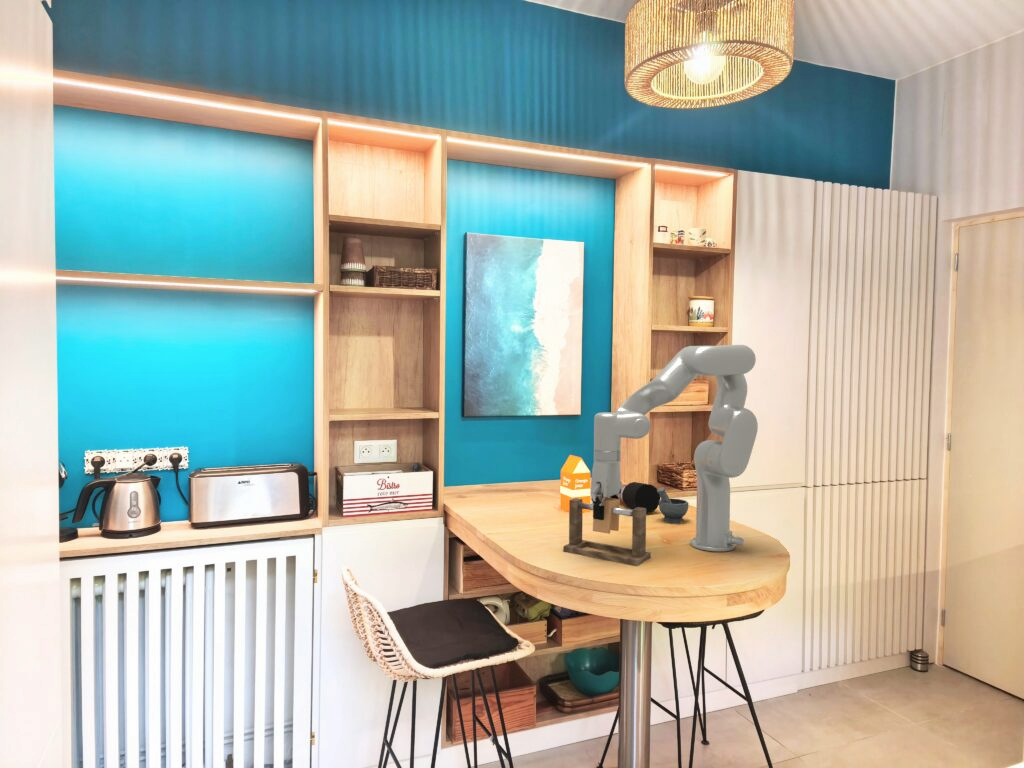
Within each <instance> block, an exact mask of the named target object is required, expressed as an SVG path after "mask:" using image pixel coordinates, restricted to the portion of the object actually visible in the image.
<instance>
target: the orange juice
mask: <svg viewBox="0 0 1024 768" xmlns="http://www.w3.org/2000/svg"><path fill="white" fill-rule="evenodd" d="M591 474H592V472H591V470H590V469H589V468H588V466H587V465H586V463H585V462H584V460H583V458H582V457H580V456H576V455H572V454H569V456H568V457H567V459H566V460H565V463H564V464H563V466H562V468H561V469H560V491H559V492H560V510H562V511H565V512H567V513H569V500H571V499H574V498H579V499H583V503H589V504H591ZM590 512H591V510H587V509H582V514H583V513H584V514H585V513H590Z"/></svg>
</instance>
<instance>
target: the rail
mask: <svg viewBox="0 0 1024 768" xmlns="http://www.w3.org/2000/svg"><path fill="white" fill-rule="evenodd" d="M578 508H581V509H587V510H590V511H593V504H592V503H590V504H589V503H583V502H579V503H578ZM611 513H613V514H619V516H620V515H621V516H626V517H632V518H633V509H630V508H622V507H620V508H617V507H614V508H611Z"/></svg>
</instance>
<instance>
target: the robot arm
mask: <svg viewBox="0 0 1024 768" xmlns="http://www.w3.org/2000/svg"><path fill="white" fill-rule="evenodd" d="M756 361H757V359H756V354H755V351H754V350H753V349H752V348H751V347H749V346H747V345H745V344H723V345H722V344H720V345H689V346H685V347H683V348H682V349H680V350H679V351H678V352H677V353H676V354H675V355H674V357H673V358H672V359H671V360H670V361H669V362H668V363H667V364H666V366H665V367H663V369H661V371H660V372H659V373H657V374H656V376H655V377H654V378H653V379H651V380H650V382H647V383H646V384H644V386H642V387H641V388H639V389H638V390H636V391H635V392H633V393H632V394H631V395H629V397H628V398H626V399H625V401H624V402H623V403H622V404H621V405H620V406H619V407H618V408H617V409H616V411H614V412H613V411H612V412H608V411H606V412H605V411H603V412H598V413H597V412H596V414H595V415H594V418H593V464H592V469H591V471H592V472H591V478H590V500H591V502H592V503H591V504H593V510H592V517H593V518H594V519H598V520H604V506H603V503H604V500H605V498H609V497H611V498H615V499H620V498H621V496H620V493H621V487H622V484H623V482H622V481H621V465H620V463H621V456H622V454H621V453H622V452H621V451H622V450H621V449H622V448H621V444H622V441H621V440H622V438H624V439H625V438H627V439H633V440H634V439H636V440H637V439H642V438H644V437H646V436H647V435H648V434H649V433H650V430H651V428H652V427H651V426H652V425H651V424H652V423H651V421H650V418H648V416H646V414H648V413H649V412H650V411H652V410H654V409H655V408H657V407H660V406H663V405H666V404H668V403H671V402H673V401H675V400H676V399H677V398H678V397H679V396H680V395H682V393H683V392H684V391H685V389H686V388H688V386H690V384H691V383H692V382H693V381H694V380H695V379H696V378H697V376H706V377H707V376H709V377H711V376H712V377H713V376H715V378H716V382H717V389H716V394H715V398H714V402H713V405H712V408H711V412H710V414H709V419H708V428H709V431H710V432H711V433H712V434H713V435H715V436H718V437H721V438H723V439H722V441H720V440H716V439H708V440H704V441H701V442H700V443H699V444H698V445H697V446H696V448H695V451H694V455H693V458H694V459H693V460H694V467H695V473H696V474H695V475H696V515H695V516H696V519H695V520H696V523H695V524H696V526H695V528H696V529H695V537H693V538H691V539H690V545H691V546H692V547H694V548H695V549H698V550H702V551H707V552H715V553H716V552H718V553H719V552H720V553H721V552H730V551H732V550H734V549H735V547H736V546H739V547H740V546H742V547H743V546H744V545H745V543H744V542H745V539H744V538H742V537H738V536H734V535H733V531H731V530H730V527H731V526H730V521H731V515H730V514H731V513H730V512H731V483H730V479H733V478H737V477H739V476H741V475H742V474H743V473H744V472H745V471H746V469H747V467H748V464H749V462H750V459H751V455H752V452H753V448H754V445H755V442H756V439H757V435H758V430H759V426H758V420H757V417H756V415H755V413H754V412H753V411H751V410H750V409H748V408H746V407H745V404H746V399H747V395H748V383H747V379H746V376H745V374H747V373H749V372H751V371H752V370H753V368H755V364H756ZM599 498H601V500H600V499H599ZM735 545H736V546H735Z"/></svg>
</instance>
